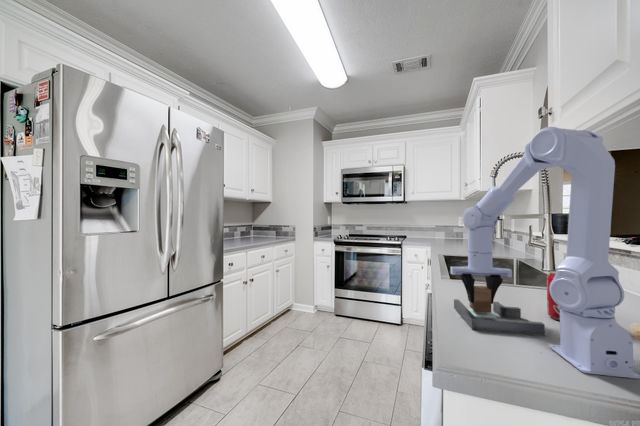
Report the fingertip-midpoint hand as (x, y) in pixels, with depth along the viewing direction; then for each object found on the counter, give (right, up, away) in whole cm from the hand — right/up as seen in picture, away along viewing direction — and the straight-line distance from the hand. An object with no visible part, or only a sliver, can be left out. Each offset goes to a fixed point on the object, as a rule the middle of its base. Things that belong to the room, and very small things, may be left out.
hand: (480, 302), depth 72 cm
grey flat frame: (+1, -3, -4) cm, 5 cm away
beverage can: (+19, -3, -4) cm, 20 cm away
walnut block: (0, -2, 0) cm, 2 cm away
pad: (0, -3, 0) cm, 3 cm away
